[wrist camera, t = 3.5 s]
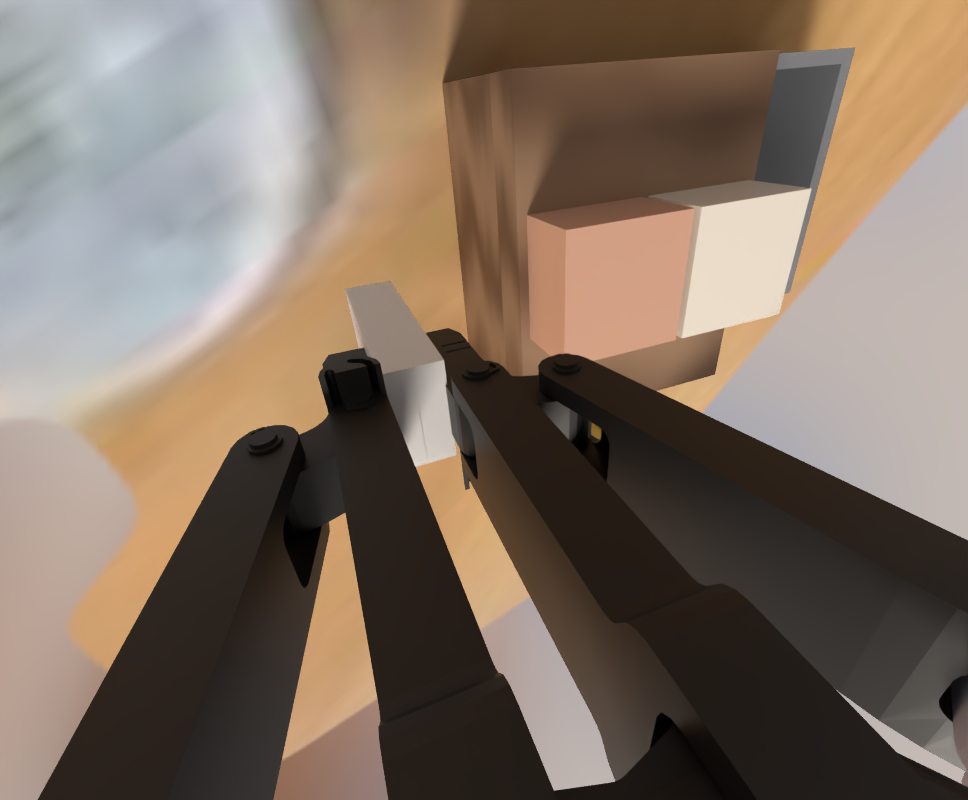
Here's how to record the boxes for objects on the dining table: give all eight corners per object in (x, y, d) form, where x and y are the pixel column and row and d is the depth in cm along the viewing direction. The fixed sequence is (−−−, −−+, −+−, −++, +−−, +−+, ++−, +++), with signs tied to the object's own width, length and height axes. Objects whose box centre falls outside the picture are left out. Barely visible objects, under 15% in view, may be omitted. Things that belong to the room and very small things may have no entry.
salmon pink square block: (526, 215, 18) (565, 230, 15) (642, 196, 19) (695, 207, 17) (530, 338, 20) (563, 368, 18) (631, 315, 22) (675, 340, 19)
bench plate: (442, 83, 22) (511, 68, 15) (648, 67, 25) (780, 49, 18) (470, 359, 29) (524, 427, 23) (626, 322, 32) (714, 374, 26)
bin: (579, 72, 24) (638, 63, 20) (771, 58, 27) (855, 47, 23) (573, 305, 30) (617, 333, 26) (729, 271, 33) (789, 292, 29)
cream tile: (648, 195, 19) (701, 207, 17) (748, 180, 20) (812, 188, 18) (637, 313, 22) (681, 338, 19) (726, 293, 23) (778, 314, 21)
